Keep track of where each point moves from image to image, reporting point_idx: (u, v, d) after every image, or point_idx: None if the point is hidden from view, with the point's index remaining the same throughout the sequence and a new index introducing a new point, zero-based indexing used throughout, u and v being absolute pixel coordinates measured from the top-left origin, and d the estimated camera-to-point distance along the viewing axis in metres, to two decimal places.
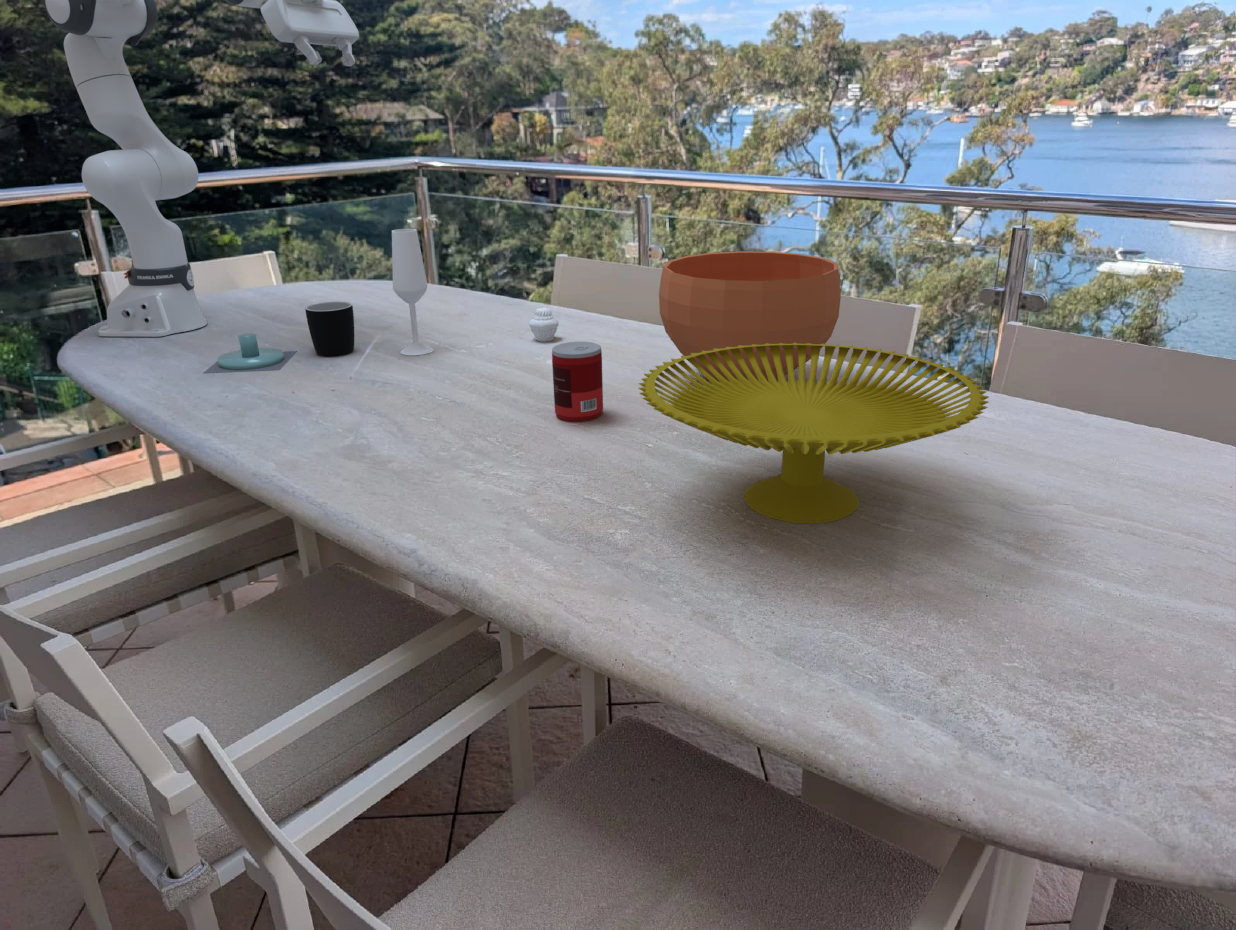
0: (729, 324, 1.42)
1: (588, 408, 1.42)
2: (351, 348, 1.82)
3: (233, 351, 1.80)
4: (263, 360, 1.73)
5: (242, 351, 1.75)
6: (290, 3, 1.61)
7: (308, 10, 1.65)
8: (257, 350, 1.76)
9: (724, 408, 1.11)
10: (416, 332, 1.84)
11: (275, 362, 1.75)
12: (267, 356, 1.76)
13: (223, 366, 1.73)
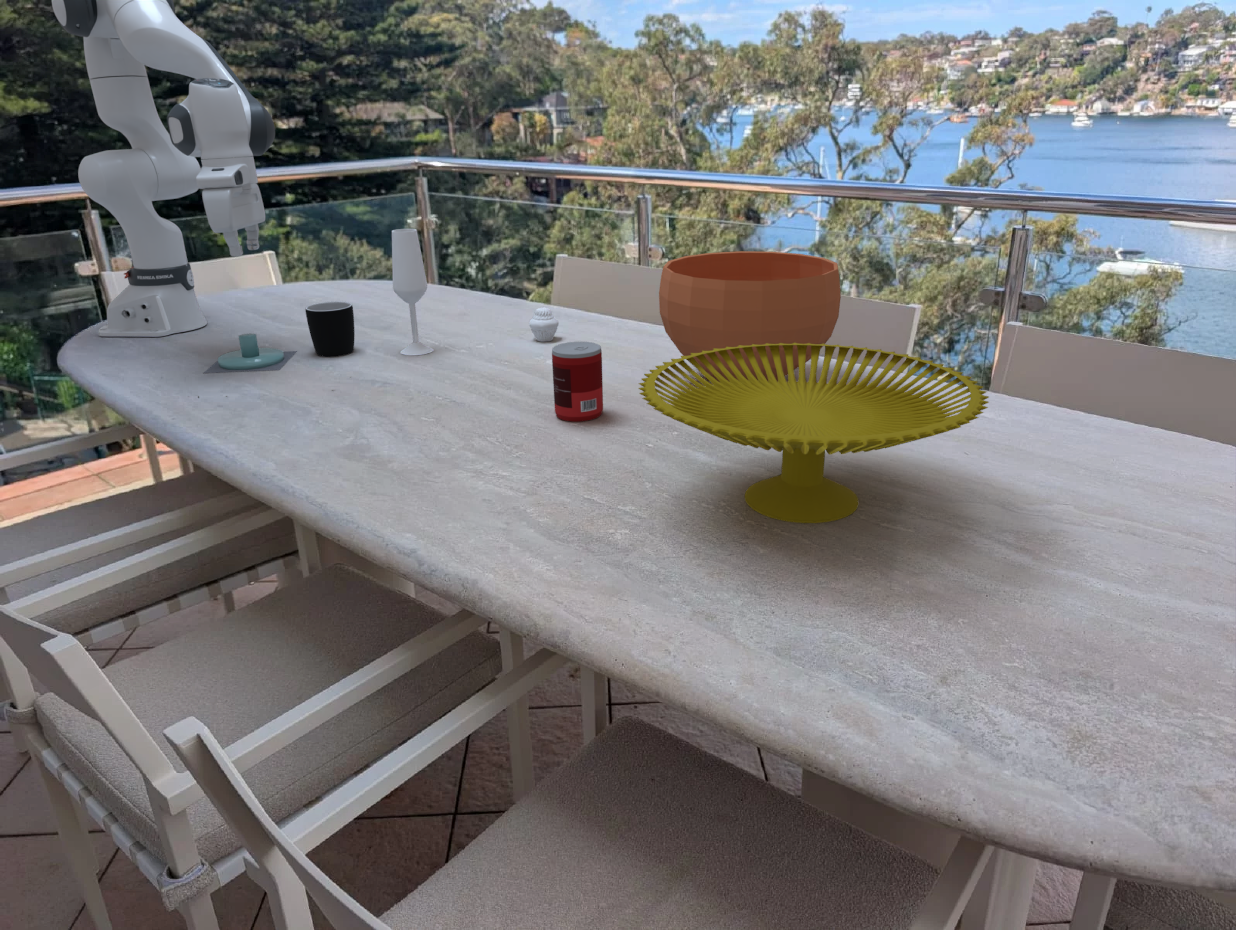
0: (729, 324, 1.42)
1: (588, 408, 1.42)
2: (351, 348, 1.82)
3: (233, 351, 1.80)
4: (263, 360, 1.73)
5: (242, 351, 1.75)
6: (233, 197, 1.61)
7: (241, 201, 1.65)
8: (257, 350, 1.76)
9: (724, 408, 1.11)
10: (416, 332, 1.84)
11: (275, 362, 1.75)
12: (267, 356, 1.76)
13: (223, 366, 1.73)
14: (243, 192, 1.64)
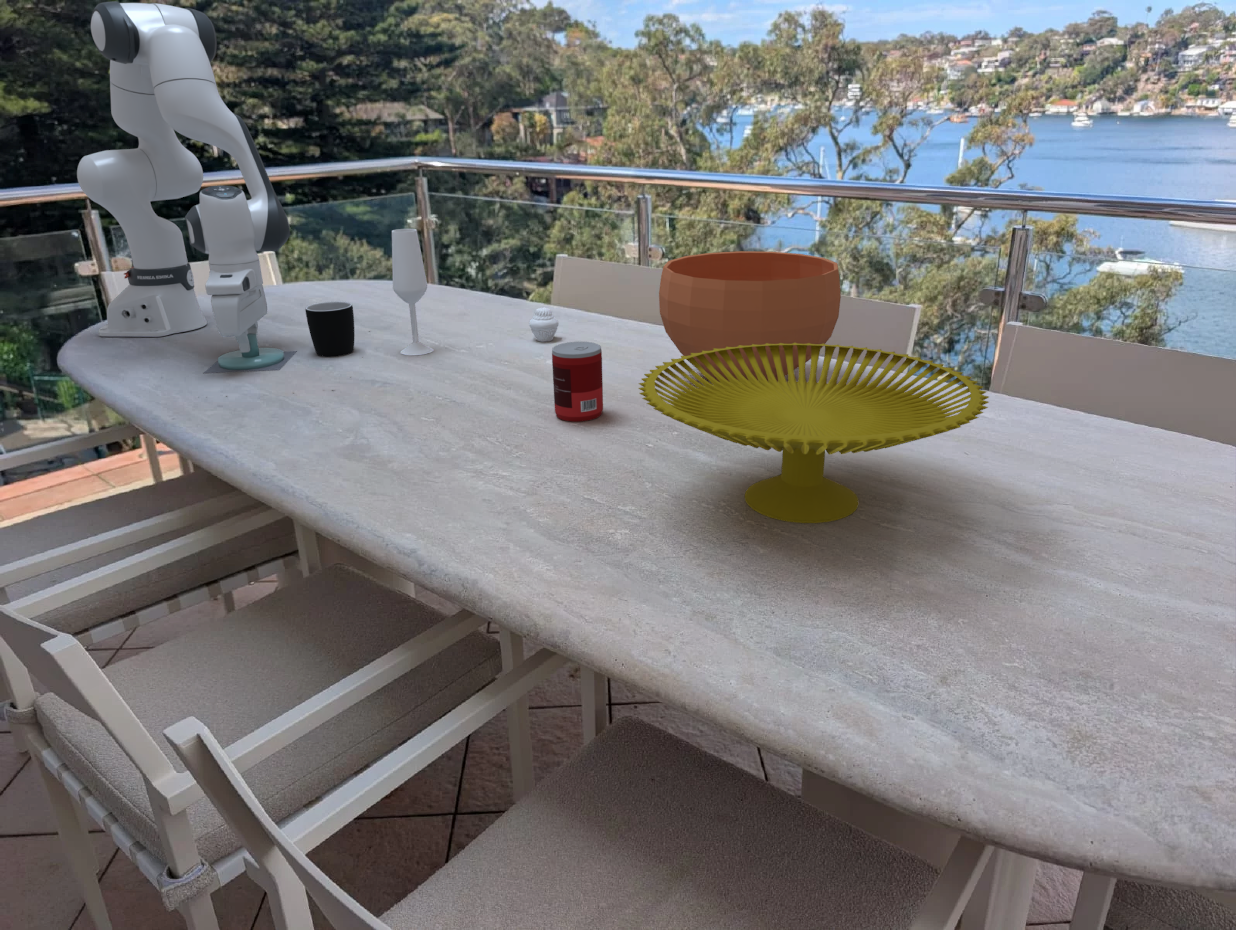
0: (729, 324, 1.42)
1: (588, 408, 1.42)
2: (351, 348, 1.82)
3: (233, 351, 1.80)
4: (263, 360, 1.73)
5: None
6: None
7: (247, 302, 1.72)
8: (257, 350, 1.76)
9: (724, 408, 1.11)
10: (416, 332, 1.84)
11: (275, 362, 1.75)
12: (267, 356, 1.76)
13: (223, 366, 1.73)
14: (249, 294, 1.71)
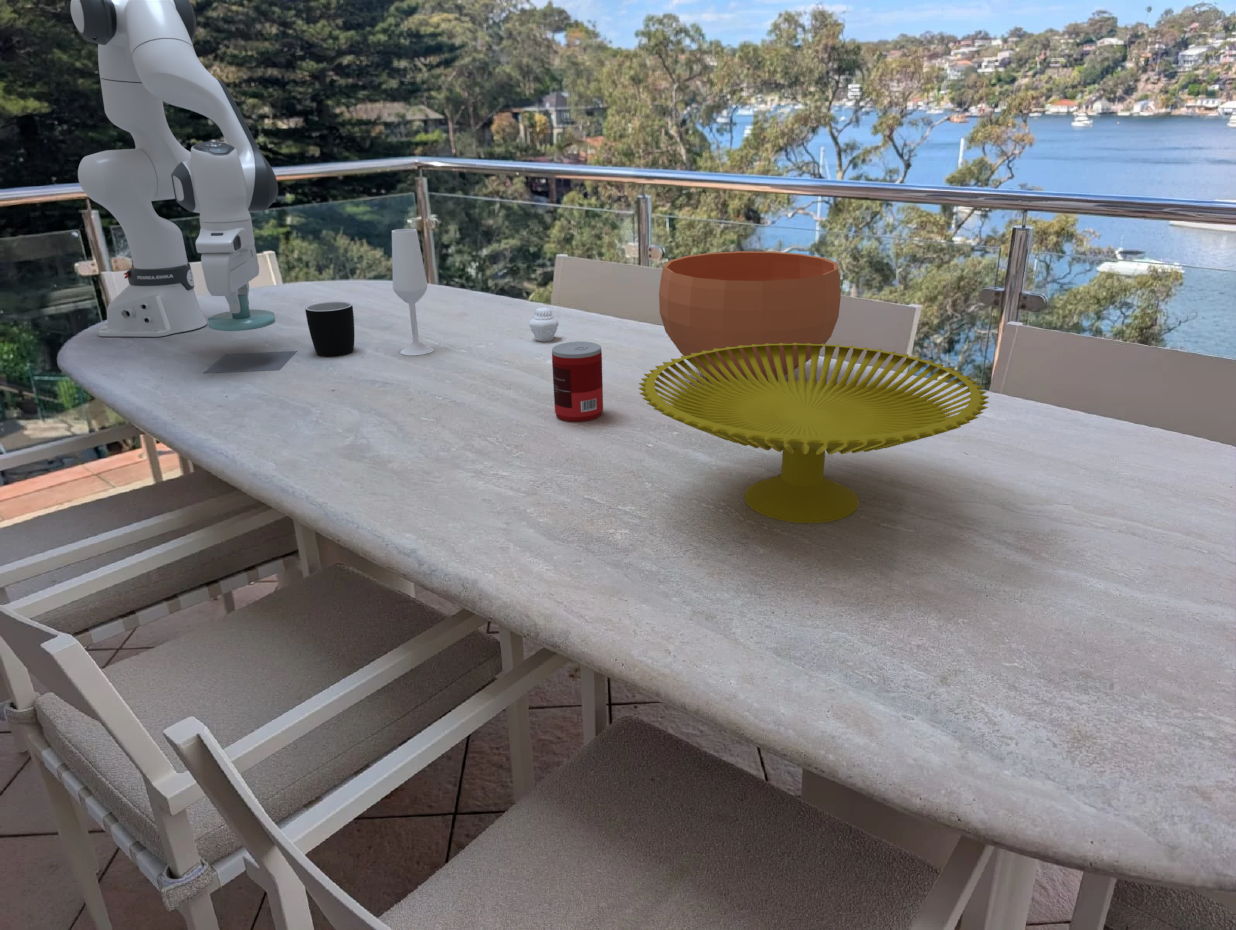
0: (729, 324, 1.42)
1: (588, 408, 1.42)
2: (351, 348, 1.82)
3: None
4: (254, 321, 1.71)
5: None
6: (231, 261, 1.65)
7: (238, 261, 1.69)
8: (248, 311, 1.74)
9: (724, 408, 1.11)
10: (416, 332, 1.84)
11: (266, 324, 1.73)
12: (258, 318, 1.74)
13: (213, 327, 1.70)
14: (240, 254, 1.68)
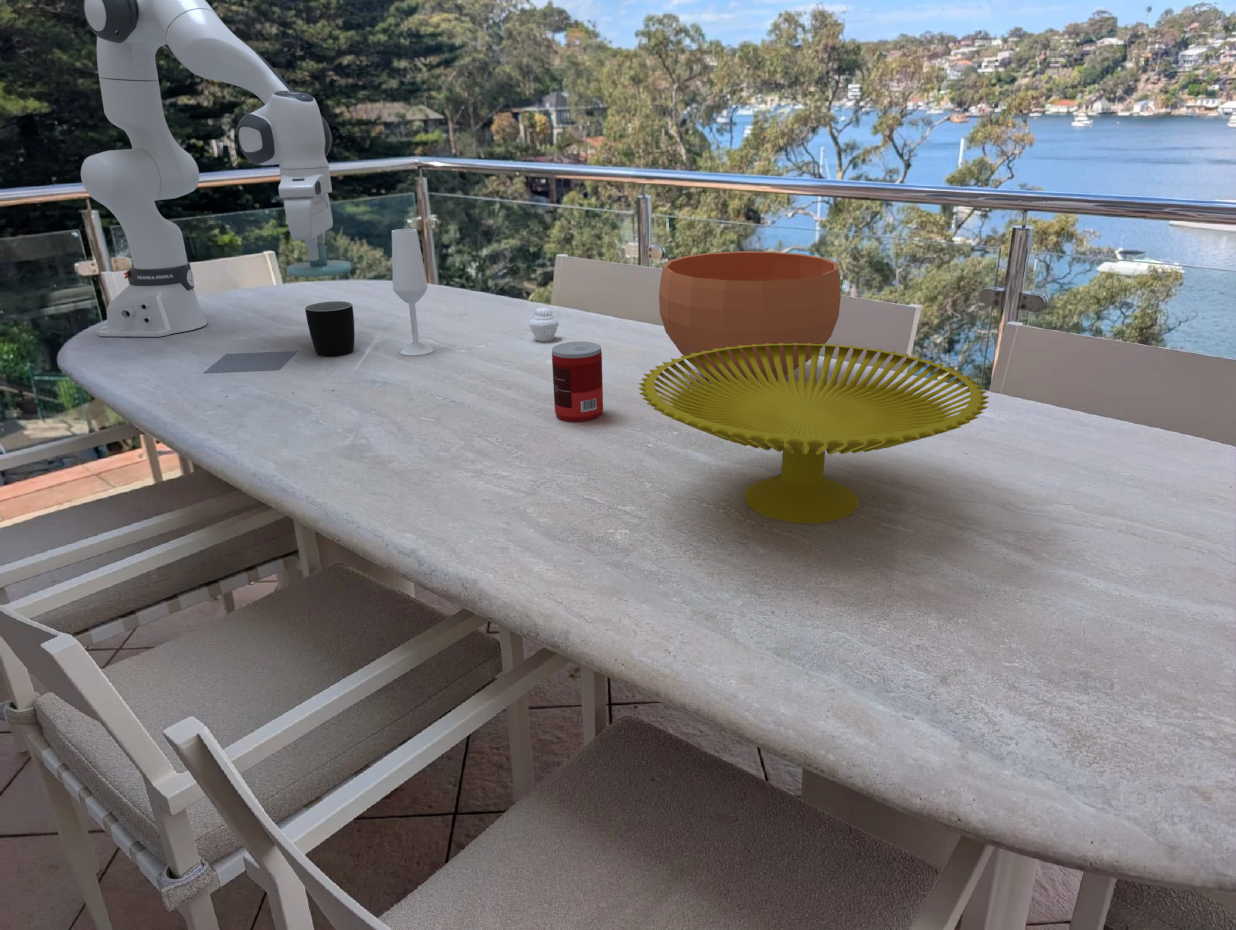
0: (729, 324, 1.42)
1: (588, 408, 1.42)
2: (351, 348, 1.82)
3: (300, 263, 1.81)
4: (333, 268, 1.74)
5: None
6: None
7: (316, 209, 1.72)
8: (325, 259, 1.77)
9: (724, 408, 1.11)
10: (416, 332, 1.84)
11: (344, 270, 1.75)
12: (335, 265, 1.76)
13: (293, 273, 1.73)
14: (319, 201, 1.71)
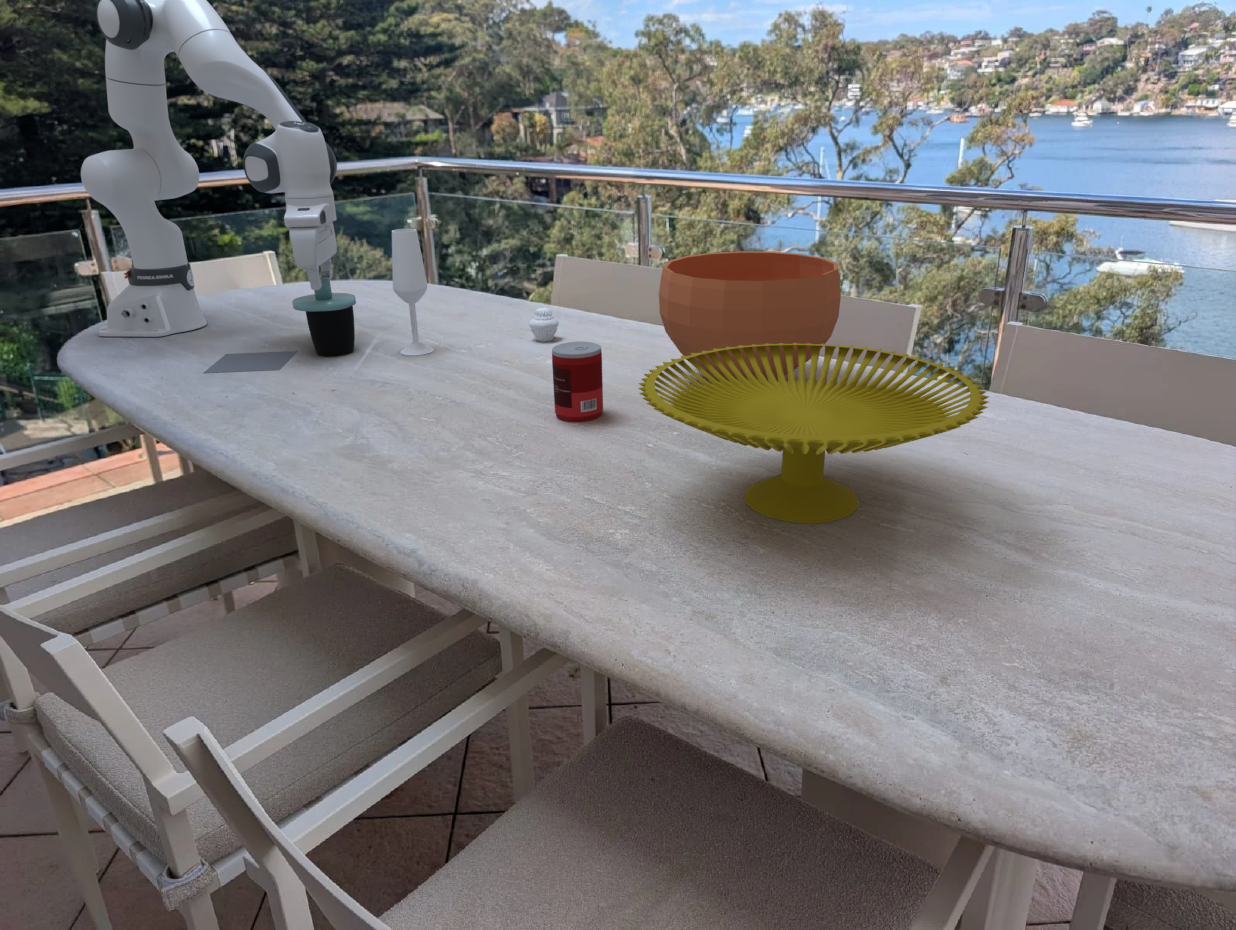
0: (729, 324, 1.42)
1: (588, 408, 1.42)
2: (351, 348, 1.82)
3: None
4: (338, 302, 1.77)
5: (316, 294, 1.78)
6: None
7: (321, 237, 1.74)
8: (330, 293, 1.79)
9: (724, 408, 1.11)
10: (416, 332, 1.84)
11: (349, 304, 1.78)
12: (340, 299, 1.79)
13: (299, 308, 1.76)
14: (324, 229, 1.73)
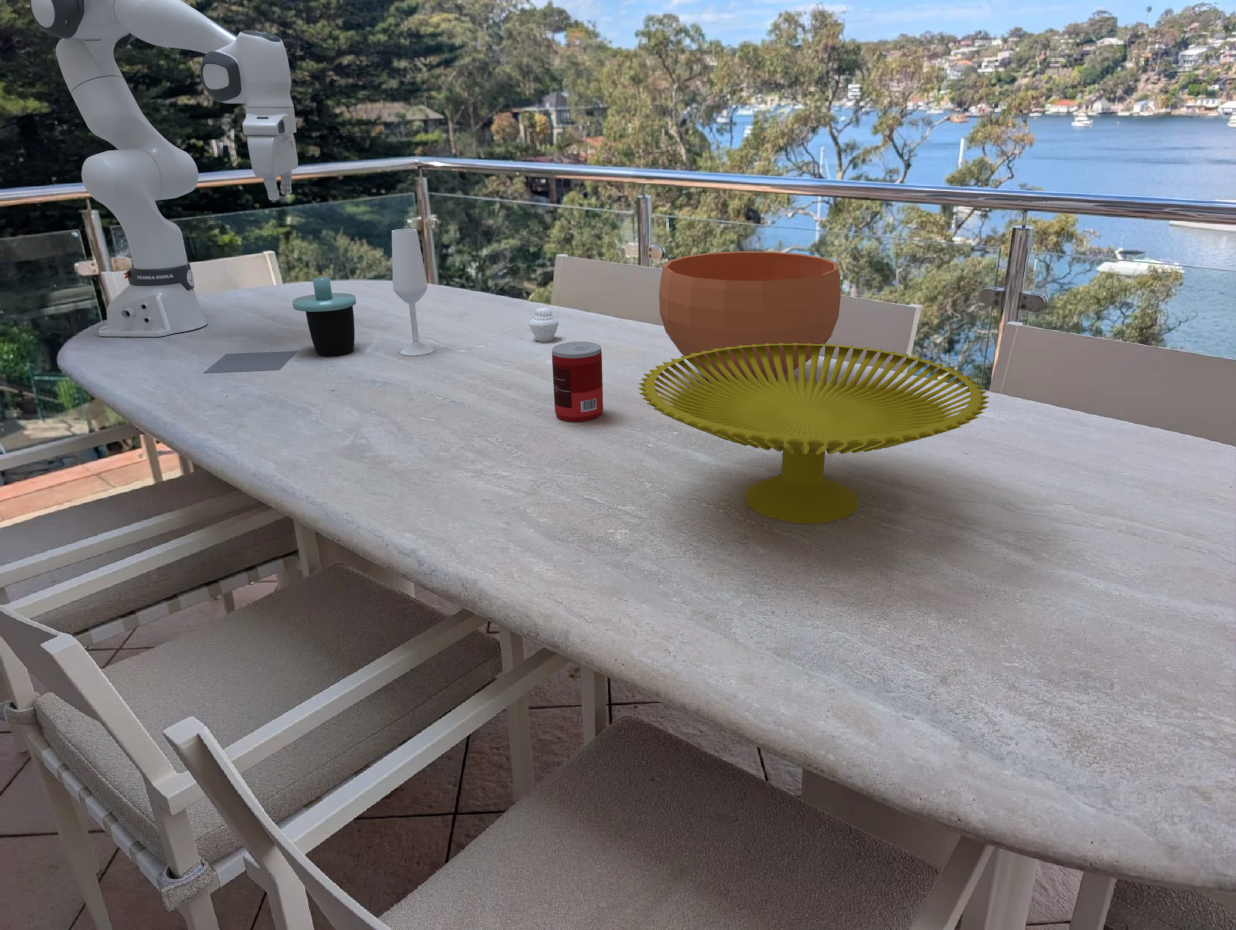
0: (729, 324, 1.42)
1: (588, 408, 1.42)
2: (351, 348, 1.82)
3: None
4: (338, 302, 1.76)
5: (316, 294, 1.78)
6: None
7: (280, 148, 1.77)
8: (330, 293, 1.79)
9: (724, 408, 1.11)
10: (416, 332, 1.84)
11: (349, 304, 1.78)
12: (341, 299, 1.79)
13: (299, 308, 1.76)
14: (283, 140, 1.76)
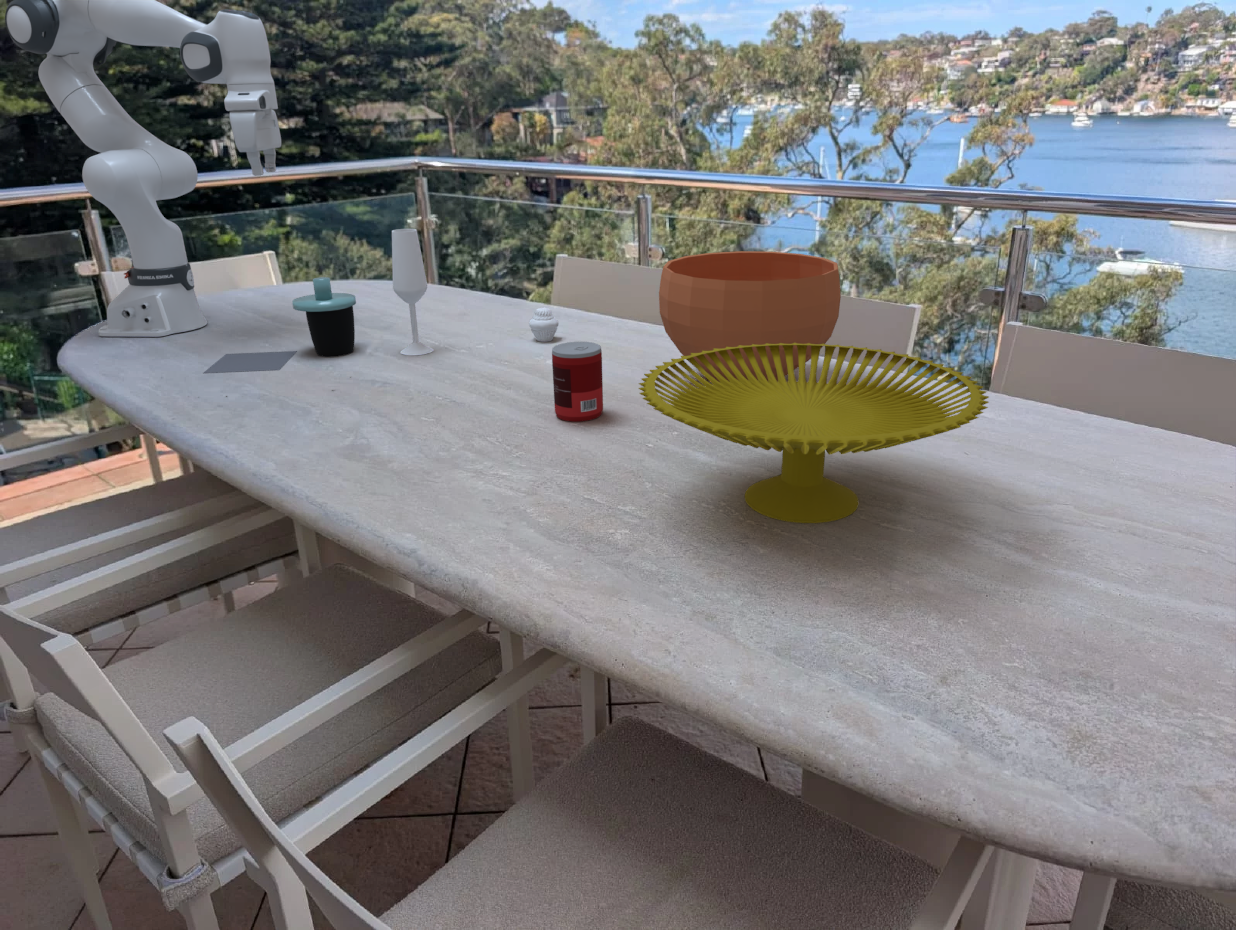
0: (729, 324, 1.42)
1: (588, 408, 1.42)
2: (351, 348, 1.82)
3: None
4: (338, 302, 1.76)
5: (316, 294, 1.78)
6: (257, 120, 1.76)
7: (262, 125, 1.81)
8: (330, 293, 1.79)
9: (724, 408, 1.11)
10: (416, 332, 1.84)
11: (349, 304, 1.78)
12: (340, 299, 1.79)
13: (299, 308, 1.76)
14: (265, 116, 1.80)
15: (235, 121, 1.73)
